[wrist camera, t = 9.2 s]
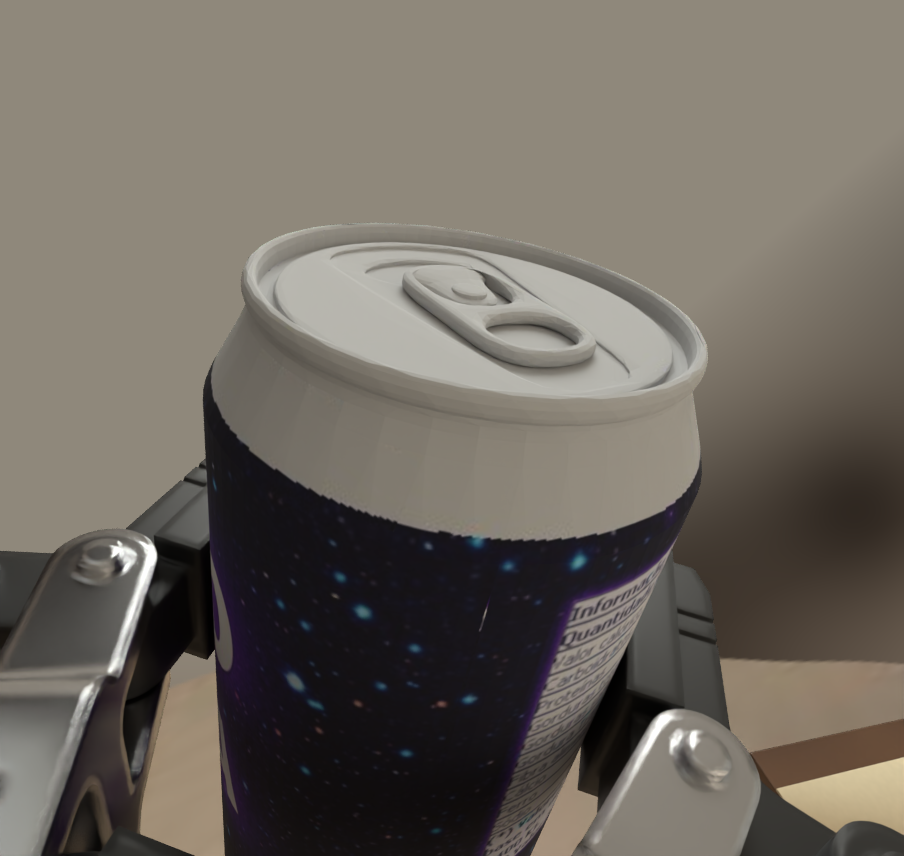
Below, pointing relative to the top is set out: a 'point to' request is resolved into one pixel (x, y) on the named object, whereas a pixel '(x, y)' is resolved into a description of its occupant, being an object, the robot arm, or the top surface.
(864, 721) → the top surface
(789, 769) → the wooden serving tray
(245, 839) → the beverage can
